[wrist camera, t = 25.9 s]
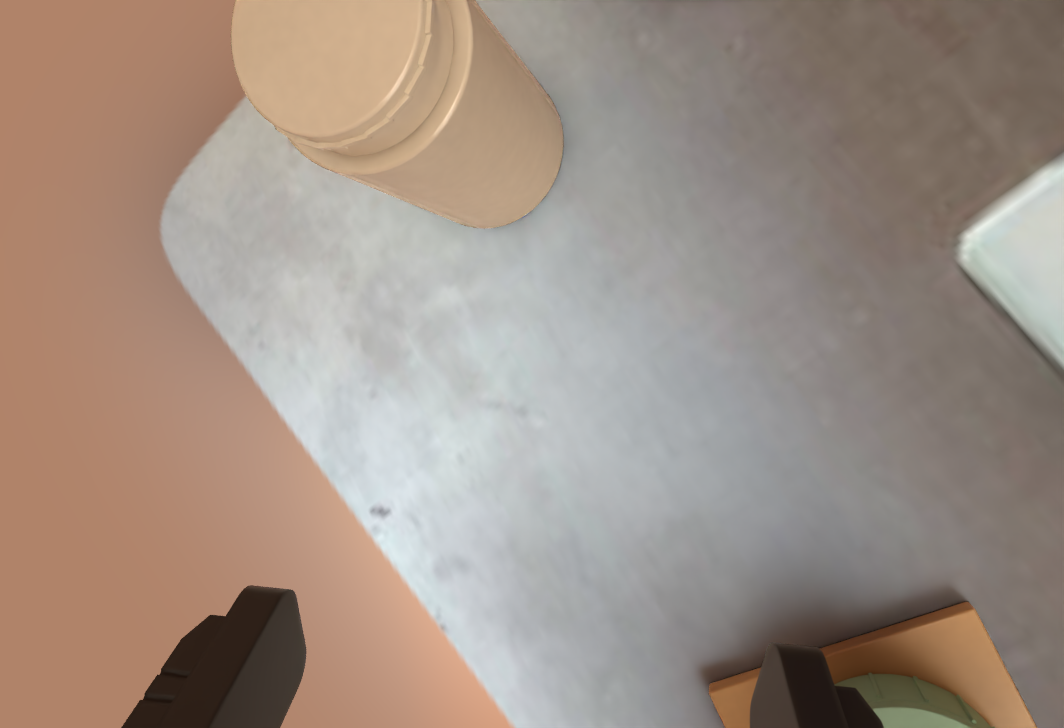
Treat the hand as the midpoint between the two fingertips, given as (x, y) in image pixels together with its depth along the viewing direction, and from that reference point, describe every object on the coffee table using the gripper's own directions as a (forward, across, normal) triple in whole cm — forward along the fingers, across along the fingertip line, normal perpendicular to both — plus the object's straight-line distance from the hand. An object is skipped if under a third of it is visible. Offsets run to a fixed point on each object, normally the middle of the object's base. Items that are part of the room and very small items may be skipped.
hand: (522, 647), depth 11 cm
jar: (+16, +3, -5) cm, 17 cm away
